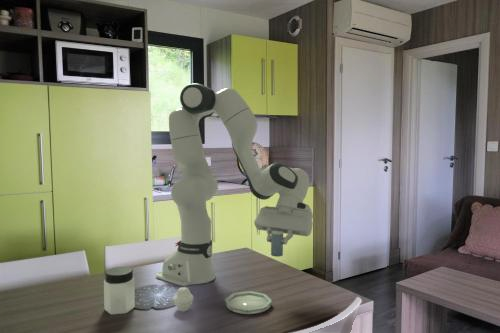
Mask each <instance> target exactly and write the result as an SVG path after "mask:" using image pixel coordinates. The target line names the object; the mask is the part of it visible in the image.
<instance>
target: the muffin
mask: <svg viewBox="0 0 500 333" xmlns="http://www.w3.org/2000/svg"><path fill="white" fill-rule="evenodd" d="M172 300H173V304H174V305H175V307H176V309H177V310H178V311H179V312H186V311H188V310H189V309H190V307H191V305H192V303H193V301H194V295H193V294H192V293H191V292H190V289H189V287H187V286H182V287H179V288H178V289H177V291H176V293H175V295H173V298H172Z"/></svg>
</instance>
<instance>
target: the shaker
mask: <svg viewBox="0 0 500 333" xmlns="http://www.w3.org/2000/svg"><path fill="white" fill-rule="evenodd" d="M283 237H284V233H283V231H281V230H272V233H271V242H270V255H271V256H272V257H283V255H284V244H282V243H281V240H282V238H283Z"/></svg>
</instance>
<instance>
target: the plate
mask: <svg viewBox="0 0 500 333" xmlns="http://www.w3.org/2000/svg"><path fill="white" fill-rule="evenodd" d="M224 302H225V305H226V308H227V309H228V310H229V311H230V312H231V311H232V312H234V313H237V314H242V315H254V314H261V313H264V312H266V311H267V310H269V309H270V308H271V305H272V303H273V300H272V299H271V298H270V297H269V296H268V295H267V294H265V293H261V292H257V291H252V290H250V291H249V290H248V291H240V292H234V293H231V294H230V295H229V296H227V298H225V299H224Z"/></svg>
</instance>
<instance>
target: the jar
mask: <svg viewBox="0 0 500 333" xmlns="http://www.w3.org/2000/svg"><path fill="white" fill-rule="evenodd" d="M133 273H134V269H133V268H132V267H129V266H115V267H112V268H109V269H106V270H105V272H104V280H103V304H104V305H103V306H104V311H106V312H107V313H108V314H110V315H120V314H121V315H123V314H127V313H129V312H130V311H131V310H133V309H134V308H135V306H136V305H135V303H136V302H135V301H136V298H135V297H136V295H135V293H136V292H135V291H136V290H135V278H134V274H133Z"/></svg>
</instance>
